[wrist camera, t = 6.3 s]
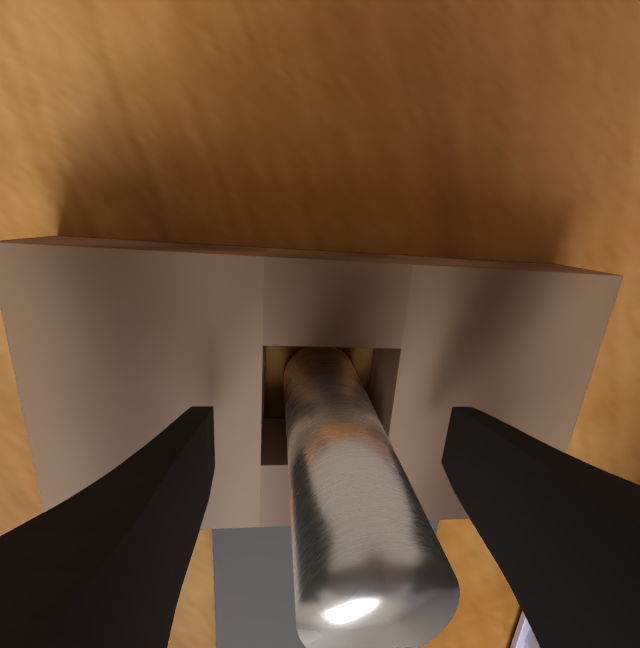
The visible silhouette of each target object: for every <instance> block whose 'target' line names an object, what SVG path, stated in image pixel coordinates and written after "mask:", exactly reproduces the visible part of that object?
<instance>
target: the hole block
mask: <svg viewBox="0 0 640 648" xmlns="http://www.w3.org/2000/svg"><path fill="white" fill-rule="evenodd" d="M622 278H623V276H621V275H615V274H609V273H604V272H598V271H592V270H587V269H581V268H575V267H570V266H564V265H558V264H547V263H530V262H512V261H494V260H477V259H459V258H441V257H424V256H406V255H389V254H371V253H353V252H336V251H318V250H300V249H283V248H265V247H248V246H230V245H212V244H195V243H177V242H160V241H142V240H124V239H107V238H89V237H71V236H47V237H36V238H24V239H13V240H2V241H0V308H1V312H2V317H3V322H4V327H5V331H6V336H7V341H8V346H9V350H10V355H11V360H12V365H13V369H14V374H15V379H16V384H17V388H18V393H19V398H20V402H21V407H22V412H23V417H24V421H25V426H26V431H27V436H28V440H29V445H30V450H31V455H32V459H33V464H34V469H35V474H36V478H37V483H38V488H39V493H40V497H41V502H42V507H43V512H46V511H47V510H49V509H51V508H53V507H55V506H56V505H58V504H60V503H62V502H63V501H65V500H67V499H68V498H70V497H72V496H73V495H75V494H76V493H78V492H80V491H81V490H83V489H84V488H86V487H88V486H89V485H91V484H92V483H94V482H95V481H97V480H98V479H100V478H101V477H103V476H104V475H106V474H107V473H109V472H110V471H111V470H113V469H114V468H116V467H117V466H118V465H120V464H121V463H122V462H124V461H125V460H126V459H128V458H129V457H130V456H132V455H133V454H134V453H136V452H137V451H138V450H140V449H141V448H142V447H144V446H145V445H146V444H147V443H149V442H150V441H151V440H152V439H153V438H155V437H156V436H157V435H158V434H159V433H161V432H162V431H163V430H164V429H165V428H167V427H168V426H169V425H170V424H171V423H172V422H174V421H175V420H176V419H177V418H178V417H179V416H180V415H182V414H183V413H184V412H185V411H186V410H188V409H189V408H190V407H191V406H214V441H215V470H214V476H213V481H212V487H211V492H210V497H209V501H208V505H207V508H206V511H205V514H204V518H203V521H202V524H201V527H200V529H223V528H248V527H272V526H291V514H290V495H289V475H288V456H287V437H286V418H264V412H265V364H266V346H305V347H350V348H374V352H373V361H372V369H371V378H370V386H369V395H368V397H369V400H370V402H371V404H372V406H373V408H374V410H375V412H376V414H377V416H378V418H379V420H380V422H381V424H382V426H383V428H384V430H385V432H386V434H387V436H388V438H389V441H390V443H391V445H392V447H393V449H394V451H395V453H396V455H397V457H398V459H399V461H400V463H401V465H402V467H403V469H404V471H405V473H406V475H407V477H408V479H409V481H410V484H411V486H412V488H413V490H414V492H415V494H416V496H417V498H418V500H419V502H420V504H421V506H422V508H423V510H424V512H425V514H426V516H427V518H428V520H444V519H469V516H468V515H467V513H466V511H465V510H464V508H463V506H462V505H461V503H460V501H459V500H458V498H457V496H456V494H455V493H454V490H453V488H452V486H451V484H450V482H449V480H448V477H447V475H446V472H445V470H444V468H443V465H442V463H441V461H442V456H443V451H444V446H445V441H446V436H447V431H448V426H449V421H450V416H451V411H452V407H473V408H476V409H478V410H480V411H483V412H485V413H487V414H489V415H491V416H493V417H495V418H497V419H499V420H501V421H503V422H505V423H507V424H509V425H511V426H513V427H515V428H517V429H518V430H520V431H522V432H524V433H526V434H528V435H530V436H532V437H534V438H536V439H538V440H540V441H542V442H544V443H546V444H548V445H550V446H552V447H554V448H556V449H558V450H560V451H562V452H564V453H566V452H567V449H568V446H569V442H570V439H571V436H572V433H573V430H574V427H575V424H576V421H577V418H578V414H579V411H580V408H581V405H582V402H583V399H584V396H585V393H586V390H587V387H588V383H589V380H590V377H591V374H592V371H593V368H594V365H595V362H596V359H597V356H598V352H599V349H600V346H601V343H602V340H603V337H604V334H605V331H606V328H607V324H608V321H609V318H610V315H611V312H612V309H613V306H614V303H615V300H616V297H617V293H618V290H619V287H620V284H621V281H622Z"/></svg>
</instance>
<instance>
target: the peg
mask: <svg viewBox="0 0 640 648" xmlns="http://www.w3.org/2000/svg"><path fill="white" fill-rule="evenodd" d="M283 378H284V398H285V417H286V437H287V456H288V475H289V495H290V514H291V534H292V553H293V573H294V592H295V612H296V628H297V632H298V635H299V638H300V640H301V641H302V643H303V644H304V645H305V647H306V648H421V647H422V646H424V645H426V644H427V643H428V642H430V641H431V640H432V639H434V638H435V637H436V636H437V635H438V634H439V633H440V632H441V631H442V630H443V629H444V628H445V627H446V626H447V624H448V623H449V622H450V620H451V619H452V617H453V615H454V613H455V611H456V609H457V606H458V602H459V597H460V589H459V584H458V581H457V578H456V576H455V574H454V572H453V570H452V568H451V566H450V563H449V561H448V559H447V557H446V555H445V553H444V551H443V549H442V547H441V545H440V543H439V541H438V539H437V537H436V535H435V533H434V531H433V529H432V527H431V525H430V522H429V520H428V518H427V516H426V514H425V512H424V510H423V508H422V506H421V504H420V502H419V500H418V498H417V496H416V494H415V492H414V490H413V488H412V486H411V484H410V481H409V479H408V477H407V475H406V473H405V471H404V469H403V467H402V465H401V463H400V461H399V459H398V457H397V455H396V453H395V451H394V449H393V447H392V445H391V443H390V441H389V438H388V436H387V434H386V432H385V430H384V428H383V426H382V424H381V422H380V420H379V418H378V416H377V414H376V412H375V410H374V408H373V406H372V404H371V402H370V400H369V397H368V395H367V393H366V391H365V389H364V387H363V385H362V383H361V381H360V379H359V377H358V375H357V373H356V371H355V369H354V367H353V365H352V363H351V361H350V359H349V357H348V356H347V355H346V354H345V353H344V352H343V351H341V350H340V349H338V348H336V347H305V348H303V349H301V350H299V351H298V352H297V353H295V354H294V355H293V356H292V357H291V359H290V360H289V361H288V363H287V365H286V367H285V371H284V377H283Z"/></svg>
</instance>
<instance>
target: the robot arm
mask: <svg viewBox="0 0 640 648" xmlns="http://www.w3.org/2000/svg"><path fill="white" fill-rule="evenodd" d="M441 463H442V465H443V468H444V470H445V472H446V475H447V477H448V480H449V482H450V484H451V486H452V488H453V490H454V493H455V494H456V496H457V498H458V500H459V501H460V503H461V505H462V506H463V508H464V510H465V511H466V513H467V515H468V516H469V518H470V520H471V521H472V523H473V525H474V526H475V528H476V529H477V531H478V533H479V534H480V536H481V538H482V539H483V541H484V543H485V544H486V546H487V547H488V549H489V551H490V552H491V554H492V556H493V557H494V559H495V561H496V562H497V564H498V565H499V567H500V569H501V571H502V572H503V574H504V576H505V578H506V580H507V581H508V583H509V585H510V587H511V589H512V591H513V593H514V595H515V597H516V599H517V601H518V603H519V605H520V607H521V609H522V613H521V616H520V619H519V622H518V625H517V628H516V631H515V634H514V637H513V640H512V644H511V647H510V648H640V485H637V484H635V483H632V482H630V481H628V480H625V479H623V478H620V477H618V476H615V475H613V474H610V473H608V472H606V471H603V470H601V469H599V468H596V467H594V466H592V465H590V464H587V463H585V462H583V461H581V460H579V459H577V458H575V457H573V456H570V455H568V454H566V453H564V452H562V451H560V450H558V449H556V448H554V447H552V446H550V445H548V444H546V443H544V442H542V441H540V440H538V439H536V438H534V437H532V436H530V435H528V434H526V433H524V432H522V431H520V430H518V429H517V428H515V427H513V426H511V425H509V424H507V423H505V422H503V421H501V420H499V419H497V418H495V417H493V416H491V415H489V414H487V413H485V412H483V411H480V410H478V409H476V408H473V407H452V411H451V416H450V421H449V426H448V431H447V436H446V441H445V446H444V451H443V456H442V461H441ZM214 470H215V441H214V406H191V407H190V408H189V409H188V410H186V411H185V412H184V413H183V414H182V415H180V416H179V417H178V418H177V419H176V420H175V421H174V422H172V423H171V424H170V425H169V426H168V427H167V428H165V429H164V430H163V431H162V432H161V433H159V434H158V435H157V436H156V437H155V438H153V439H152V440H151V441H150V442H149V443H147V444H146V445H145V446H144V447H142V448H141V449H140V450H138V451H137V452H136V453H134V454H133V455H132V456H130V457H129V458H128V459H126V460H125V461H124V462H122V463H121V464H120V465H118V466H117V467H116V468H114V469H113V470H111V471H110V472H109V473H107V474H106V475H104V476H103V477H101V478H100V479H98V480H97V481H95V482H94V483H92V484H91V485H89V486H88V487H86V488H84V489H83V490H81V491H80V492H78V493H76V494H75V495H73V496H72V497H70V498H68V499H67V500H65V501H63V502H62V503H60V504H58V505H56V506H55V507H53V508H51V509H49V510H47V511H46V512H44V513H42V514H40V515H38V516H37V517H35V518H33V519H31V520H29V521H27V522H26V523H24V524H22V525H20V526H18V527H17V528H15V529H13V530H11V531H9V532H7V533H5V534H4V535H2V536H0V648H167V645H168V640H169V636H170V631H171V627H172V623H173V618H174V614H175V609H176V605H177V602H178V598H179V595H180V591H181V587H182V584H183V581H184V578H185V575H186V571H187V568H188V565H189V562H190V559H191V556H192V553H193V549H194V546H195V543H196V540H197V537H198V534H199V530H200V527H201V524H202V521H203V518H204V514H205V511H206V508H207V505H208V501H209V497H210V492H211V487H212V481H213V476H214Z"/></svg>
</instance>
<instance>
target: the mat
mask: <svg viewBox="0 0 640 648" xmlns="http://www.w3.org/2000/svg"><path fill="white" fill-rule="evenodd" d="M429 522H430V525H431V527H432V529H433V531H434V533H435V535H436V532H437V527H438V522H439V520H429ZM212 531H213V561H214V592H215V622H216V648H306V647H305V645H304V644H303V643H302V641H301V640H300V638H299V635H298V632H297V628H296V612H295V592H294V573H293V553H292V534H291V526H272V527H248V528H223V529H212Z"/></svg>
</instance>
